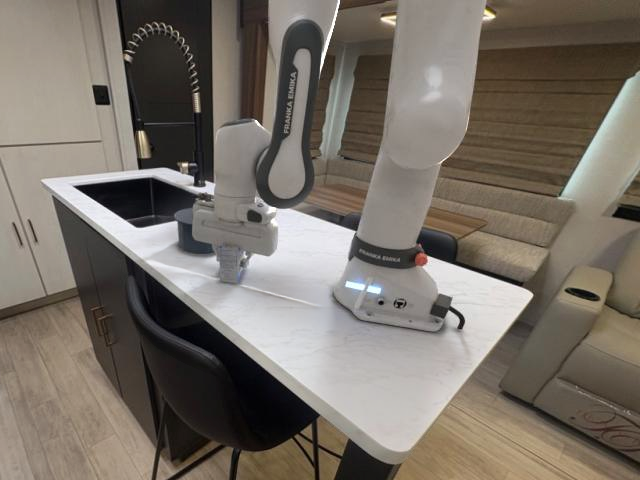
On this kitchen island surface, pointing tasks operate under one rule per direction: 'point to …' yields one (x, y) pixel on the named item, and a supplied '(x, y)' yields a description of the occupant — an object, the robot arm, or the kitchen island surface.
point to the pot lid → (184, 216)
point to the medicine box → (230, 263)
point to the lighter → (205, 197)
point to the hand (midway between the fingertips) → (232, 264)
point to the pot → (192, 241)
